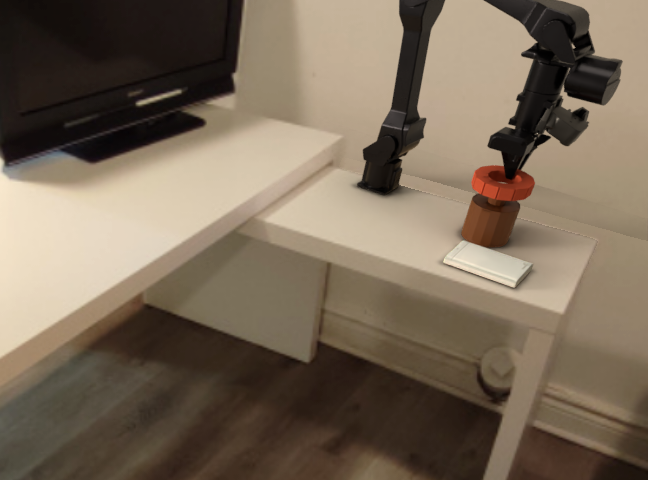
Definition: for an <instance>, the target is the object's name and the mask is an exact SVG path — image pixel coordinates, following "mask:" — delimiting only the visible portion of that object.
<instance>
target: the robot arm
mask: <svg viewBox="0 0 648 480" xmlns="http://www.w3.org/2000/svg"><path fill="white" fill-rule="evenodd" d="M483 1H484V2H486V3H487V4H489V5H491V6H492V7H494V8H496V9H497V10H499V11H501V12H502V13H504V14H505V15H508V16H509V17H512V19H514V20H516V21H518V22H519V23H520V24H521V25H522V26H523V27H524V29H525V30H526V31H527V34H528V35H529V36H530V37H531V38H532V39H533V40H534V41H535V42H534V44H533V45H532V46H530V47H529V48H528V49H526V50H524V51H522V52H521V53H520V56H521V57H522V58H526V59H529V60H530V59H531V60H532V62H531V64H530V68H529V70H528V74H527V77H526V79H525V83H524V85H523V88H522V91H521V92H519V93H518V94H517V95H516V98H515V101H516V102H518V103H517V106H516V110H515V113H514V115H513V116H511V117H510V118H509V119H508V122H507V125H509V126H513V127H514V128H512V127H508V126H504V127H502V128H500V129H499V130H497V131H496V132H494V133H493V134H491V135H490V136H489V139H488V142H487V145H486V147H487V148H488V149H490V150H495V151H498V152H500V154H501V158H502V164H503V165H502V166H504V171H505V177H506V179H510V180H512V179H513V177H514V175H515V174H516V172H517V170H522V171H523V169H524V167H525V165H526V163H527V162H528V160H529V159H530V157H531V156H532V154H533V153H534V151H536V150H537V149H539V147H540V146H541V145H543V144H545V143H547V142H548V141H549V140H551V138H552V137H553V138H555V139H556V140H557V141H559V143H560V144H561V145H562V146H563V147H570V146H571V145H573V143H575V142H576V141H577V140H578V139H579V138H580V136H582V134H583V133H584V132H585V131H586V130H587V129H588V127H589V124H590V121H588V118H589V114H590V111H589V110H588V109H587V108H585V107H584V106H581V107H578V108H577V109H574V110H573V111H572V109H571V108H568V109H566V108H565V107H563V106H562V105H563V102H564V98H563V97H564V96H563V95H561V93H562V90H563V93H565V94H566V96H567V97H568V98H572V99H576V100H580V101H583V102H587V103H591V104H595V105H599V106H606V105H607V104H608V103H609V102H610V101H611V99H612V98H613V97H614V95H615V93H616V91H617V89H618V87H619V86H620V82H621V75H622V69H621V68H622V65H623V62H624V61H623V60H622V59H619V58H614V57H613V58H611V57H610V58H608V57H604V56H599V55H595V53H596V49H595V46H594V43H593V39H592V37H591V33H590V30H589V29H590V24H591V20H590V13H589V11H587V9H585V8H584V7H582V6H580V5H576V4H574V3H570V2H567V1H564V0H483ZM445 3H446V0H398V14H399V19H400V22H401V26H402V37H401V44H400V49H399V51H400V52H399V56H398V62H397V69H396V75H395V81H394V86H393V87H394V88H393V93H392V99H391V105H390V109H389V111H388V113H387V114H386V116H385V118H384V120H383V122H382V123H381V126H380V128H379V132H378V135H377V138H376V141H374V142H372V143H371V144H369V145H367V146H366V147H364V148H363V149H362V159H363V161H365V164H364V167H363V172H362V176H361V180H360V181H359V182H357V183H356V186H357V187H359V188H362V189H365V190H368V191H370V192H373V193H377V194H378V195H382V196H385V195H388V194H389V193H391V192H393V191H394V190H395V189H397V188H398V187H400V185H401V184H400V181H401V177H402V174H403V173H402V172H403V167H402V163H403V159H402V158H403V157H405V156H407V155H408V153H409V152H410V151H412V150H414V149H415V148H416V147H418V146H419V144H420V142H421V140H423V139H424V138H425V135H424V129H425V126H426V123H427V118H426V117H420V113H419V110H418V109H419V108H418V105H419V99H420V94H421V89H422V84H423V83H422V82H423V78H424V71H425V67H426V61H427V57H428V49H429V43H430V38H431V33H432V29H433V27H434V25H435V24H436V22H437V20H438V18H439V16H440V15H441V13H442V11H443V9H444V5H445ZM545 132H546V133H548V134H545Z"/></svg>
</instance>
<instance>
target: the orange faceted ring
mask: <svg viewBox="0 0 648 480" xmlns="http://www.w3.org/2000/svg"><path fill="white" fill-rule="evenodd" d="M470 184H471V188H472V189H473V190H474V191H475V192H477V194H478V193H480V194H482V195H484V196H487V197H490V198H493V199H497V200H505V201H517V202H519V201H524V200H526V199H528V198H529V197H530V196H531V195H532V193H533V190H534V188H535V184H536V181H535V178H534V177H533V176H532V175H531V174H529V173H527V172H526V171H523V169H522V170H517V172H516V174H515V175H514V177H513V179H512V180H510V179H506V177H505V171H504V165H497V164H495V165H494V164H492V165H483V166H480V167H479V168H476V169H475V170H474V173H473V175H472V179H471V181H470Z"/></svg>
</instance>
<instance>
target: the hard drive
mask: <svg viewBox="0 0 648 480" xmlns="http://www.w3.org/2000/svg"><path fill="white" fill-rule="evenodd" d="M443 264H445V265H449V266H451V267H454V268H457V269H460V270H462V271H465V272H468V273H471V274H474V275H477V276H480V277H483V278H485V279H488V280H490V281H494V282H496V283H499V284H502V285H505V286H507V287H511V288H513V289H515V288H516V287H517V286H518V285H519V284H520V283H521V282H522V281H523V280H524V279H525V278H526V277H527V275H528V274H529V273H530V272H531V271H532V269H533V266H534V263H533V262H530V261H527V260H523V259H521V258H517V257H516V256H515V257H514V256H513V255H512V256H511V255H509V254H506V253H503V252H500V251H497V250H495V249H492V248H489V247H483V246H479V245H476V244H473V243H471V242H469V241H467V240H465V239H464V240H462V241H460V242H459V243H458V244H457V245H456V246H455V247H454V248H453V249H452V250H451V251H449V252H448V253H447V254H446V256H445V257H444V259H443Z"/></svg>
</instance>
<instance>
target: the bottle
mask: <svg viewBox="0 0 648 480" xmlns="http://www.w3.org/2000/svg"><path fill="white" fill-rule="evenodd" d="M520 210H521V203H519V201H505V200H497V199H493V198H490V197H487V196H484V195H482V194H480V193H478V192H477V193H476V194H474V195H473V196H472V197H471V200H470V204H469V206H468V210H467V213H466V216H465V219H464V222H463V225H462V228H461V233H460V234H461V237H462V238H463V239H464V240H465V241H467V242H470V243H473V244H476V245H479V246H482V247H485V248H491V249H492V248H501V247H504V246H506V245H507V243H508V241H509V240H510V237H511V235H512V231H513V229H514V226H515V224H516V221H517V219H518V216H519V212H520Z"/></svg>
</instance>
